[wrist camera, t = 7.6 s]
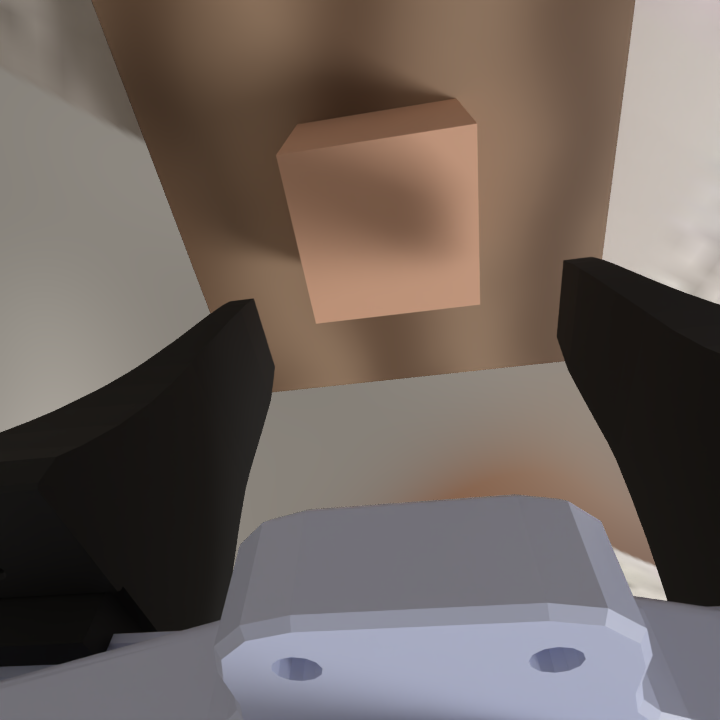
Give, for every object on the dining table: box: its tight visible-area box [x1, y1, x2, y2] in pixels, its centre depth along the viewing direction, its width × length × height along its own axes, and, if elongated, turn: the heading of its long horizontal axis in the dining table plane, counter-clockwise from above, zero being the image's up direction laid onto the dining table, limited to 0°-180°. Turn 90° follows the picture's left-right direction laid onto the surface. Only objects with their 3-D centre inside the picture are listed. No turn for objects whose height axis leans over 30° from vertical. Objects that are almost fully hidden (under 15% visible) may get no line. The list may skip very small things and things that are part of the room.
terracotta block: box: [276, 98, 480, 324], centre depth 15 cm, size 5×5×4 cm
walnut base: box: [92, 0, 635, 392], centre depth 18 cm, size 15×15×2 cm
